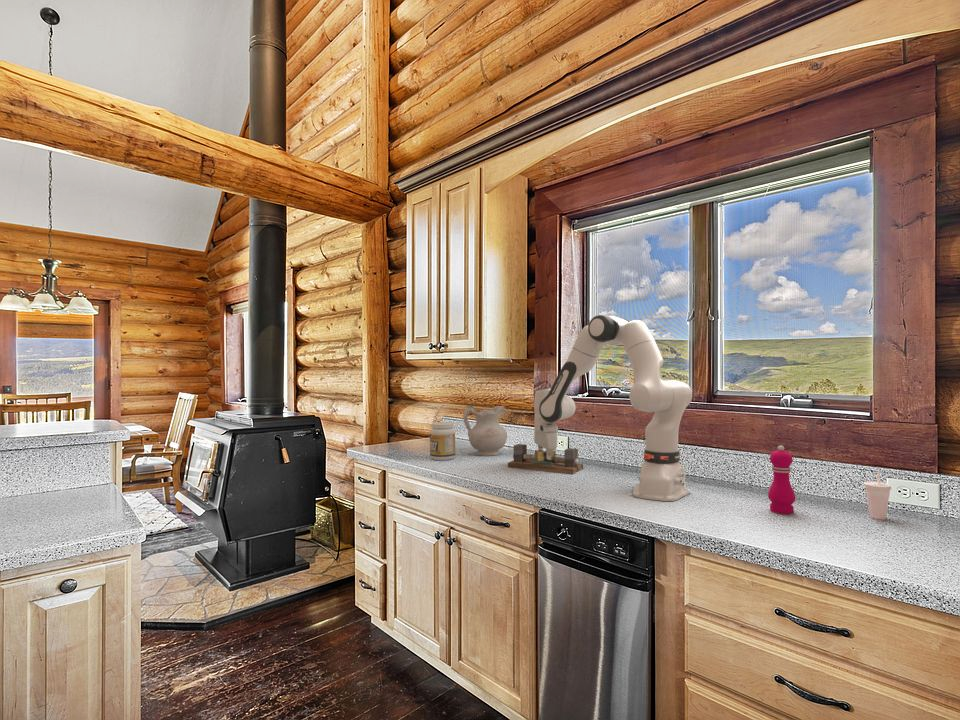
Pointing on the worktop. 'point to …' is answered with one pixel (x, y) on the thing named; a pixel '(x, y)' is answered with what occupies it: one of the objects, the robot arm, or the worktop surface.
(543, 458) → the coupling
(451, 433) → the supplement tub
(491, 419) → the ceramic pitcher
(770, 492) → the pepper mill
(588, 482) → the worktop surface
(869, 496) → the smoothie
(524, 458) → the shaft stand
